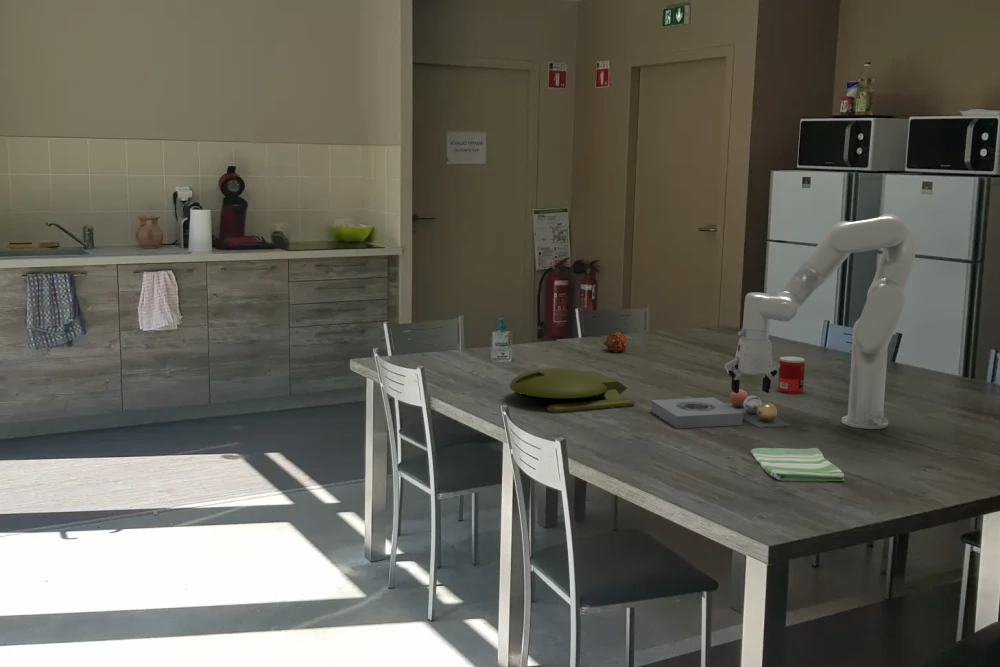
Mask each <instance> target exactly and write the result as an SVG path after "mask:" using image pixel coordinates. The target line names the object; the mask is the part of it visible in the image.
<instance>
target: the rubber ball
mask: <svg viewBox="0 0 1000 667" xmlns="http://www.w3.org/2000/svg"><path fill="white" fill-rule="evenodd" d="M748 396H749V394H748V393H747V391H746V390H744V389H742V388H739V393H735V392H733V391H732V392H731V393H730V395H729V401H730V403H732V404H733V405H734V406H736V407H742V406H743V402H744V400H745V399H746V398H747V397H748Z"/></svg>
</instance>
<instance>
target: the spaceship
mask: <svg viewBox="0 0 1000 667" xmlns="http://www.w3.org/2000/svg"><path fill="white" fill-rule="evenodd" d="M509 388H510V390H512V391H513V392H514V393H516V392H517V393H521V394H524V396H531V397H536V398H538V397H539V398H546V399H547V398H548V399H578V398H579V399H581V398H588V397H595V398H597V399H598V400H597V399H596V400H587V401H575V402H573V401H572V402H563V403H561V402H560V403H553V404H549V405H548V406H547V407H546V410H547V411H548V412H549V411H550V412H549V413H551V412H562V413H569V412H568V411H573V412H578V411H577V410H584V411H593V410H592V409H596V410H603V409H602V408H607V409H613V408H612V407H618V408H624V407H623V406H629V407H633V406H634V405H635V403H636V401H635V400H634V399H632V398H629V397H622V396H621V394H622V393H624V392H625V391H626V390H627V389H628V387H627V386H626V385H624V384H622V383H621V382H619V381H618V380H616V379H614V378H611V377H609V376H606V375H604V374H601V373H599V372H598V371H595V370H586V371H585V370H580V369H576V368H575V369H573V368H565V367H564V368H563V367H561V368H560V367H552V368H540V369H535V370H530V371H526V372H524V373H521V374H519V375H518V376H517V375H516V376H515V378H513V379H512V380H511V382H510V384H509ZM517 393H516V394H517ZM521 394H520V395H521ZM632 405H633V406H632Z"/></svg>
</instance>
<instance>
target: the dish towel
mask: <svg viewBox="0 0 1000 667" xmlns="http://www.w3.org/2000/svg"><path fill="white" fill-rule="evenodd" d="M749 453H750V454H751V455H752V456H753V458H754V459H755V460H756V462H757V463H758V464H759V466H760V467H761V468H762V469H763V470H764V471H765V472H766V474H768V476H770V477H773V478H774V479H776V480H779V481H785V482H786V481H787V482H788V481H791V482H827V481H845V479H844V478H845V474H844V472H843V471H842V470H841V469H840V468H839V467H838V466H837V465H835V464H833V463H831V461H829V460H828V459H826V458H825V457H824V454H823V452H822V451H820V449H819V448H818V447H813V448H812V447H811V448H781V447H778V448H773V447H772V448H771V447H770V448H769V447H755V448H752V449H750V451H749Z"/></svg>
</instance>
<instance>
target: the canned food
mask: <svg viewBox="0 0 1000 667" xmlns="http://www.w3.org/2000/svg"><path fill="white" fill-rule="evenodd" d="M778 363H779V364H780V365H781V366H780V368H779V370H778V383H777V384H778V385H777V390H778V392H780V393H782V392H784V393H783V394H788V393H796V394H795V395H798V394H797V393H799V394H802V393H803V392H804V384H805V383H804V382H805V367H806V359H805V358H803V357H798V356H780V357H779V362H778Z"/></svg>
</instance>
